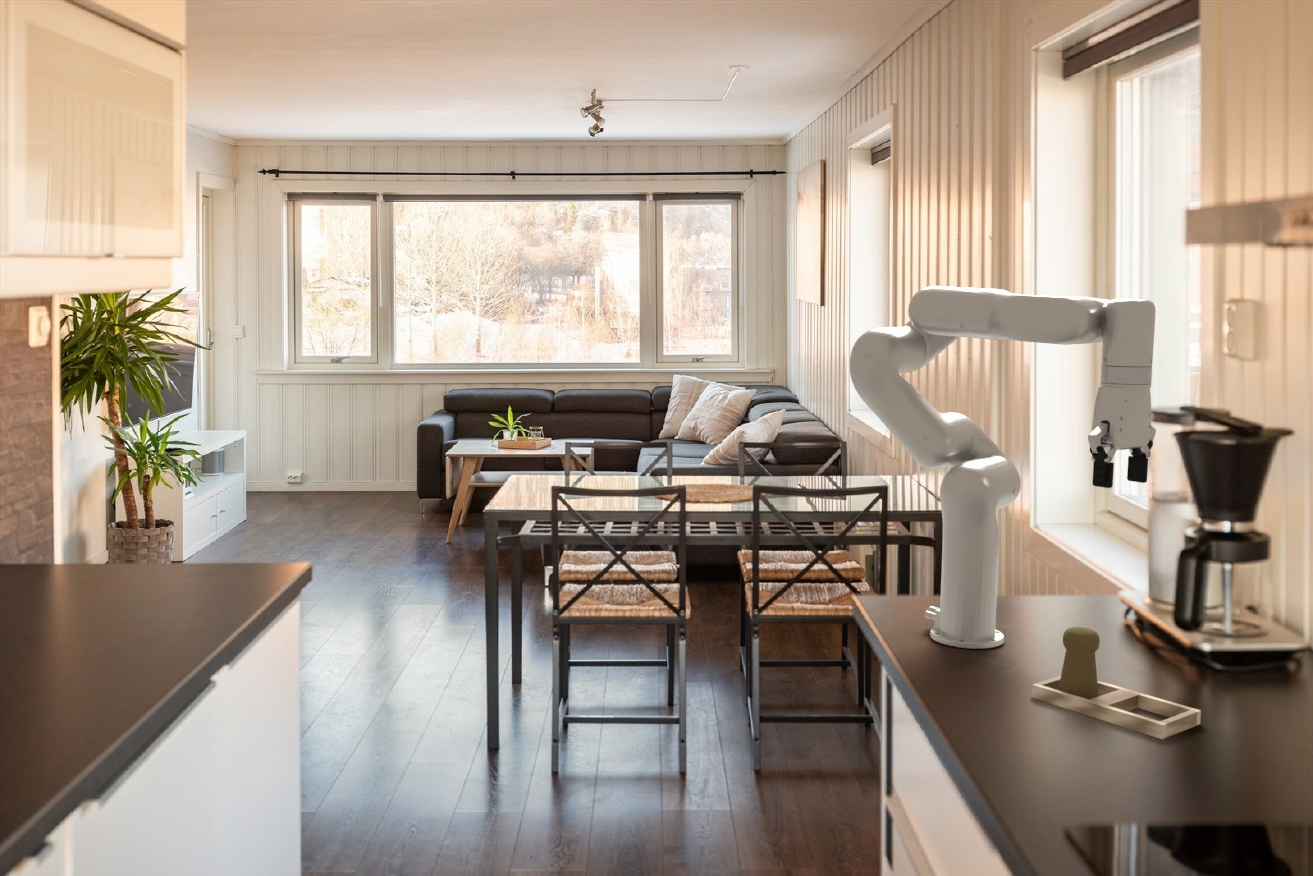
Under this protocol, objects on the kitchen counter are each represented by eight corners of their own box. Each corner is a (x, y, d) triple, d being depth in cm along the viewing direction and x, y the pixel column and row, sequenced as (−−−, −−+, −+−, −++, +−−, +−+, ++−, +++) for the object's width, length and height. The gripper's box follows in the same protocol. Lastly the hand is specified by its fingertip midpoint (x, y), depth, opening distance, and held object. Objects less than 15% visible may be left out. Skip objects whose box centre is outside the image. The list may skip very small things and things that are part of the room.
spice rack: (1031, 697, 181) (1031, 684, 181) (1070, 685, 187) (1071, 672, 187) (1161, 739, 164) (1162, 725, 164) (1200, 724, 170) (1201, 710, 170)
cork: (1102, 708, 176) (1106, 635, 175) (1059, 705, 177) (1063, 633, 176) (1095, 695, 182) (1099, 624, 181) (1054, 692, 183) (1057, 622, 182)
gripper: (1134, 374, 198) (1128, 476, 200) (1073, 377, 188) (1067, 485, 190) (1177, 377, 193) (1171, 482, 195) (1116, 380, 182) (1110, 492, 184)
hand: (1119, 484), depth 192 cm, fingers open, 9 cm apart
